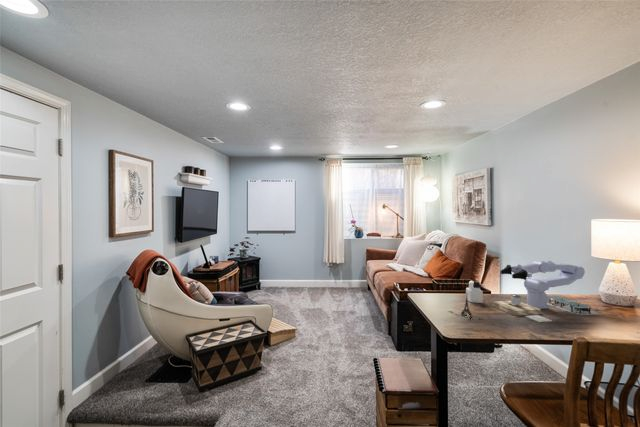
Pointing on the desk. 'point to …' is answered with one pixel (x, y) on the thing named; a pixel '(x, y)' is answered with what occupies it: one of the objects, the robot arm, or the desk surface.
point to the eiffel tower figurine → (464, 311)
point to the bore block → (516, 308)
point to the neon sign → (573, 307)
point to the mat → (538, 318)
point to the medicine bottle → (474, 292)
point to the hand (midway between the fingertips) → (506, 274)
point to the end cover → (515, 300)
